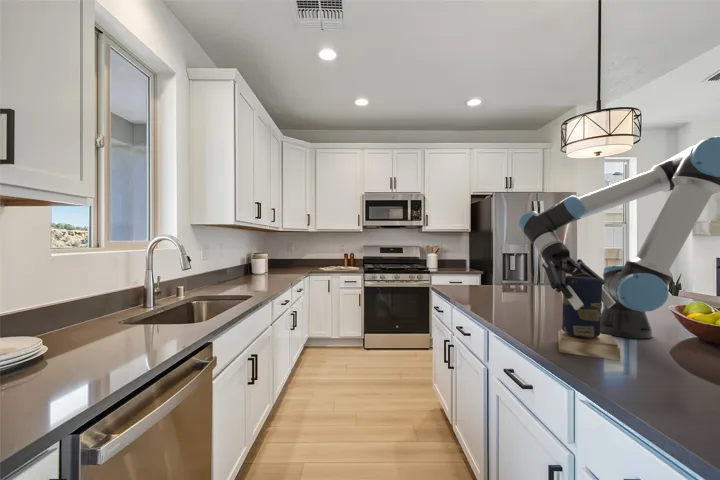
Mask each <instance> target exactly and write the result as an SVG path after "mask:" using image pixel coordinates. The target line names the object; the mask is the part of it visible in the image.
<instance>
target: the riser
mask: <svg viewBox="0 0 720 480" xmlns="http://www.w3.org/2000/svg"><path fill="white" fill-rule="evenodd" d="M557 333H558V334H557V340H558V341H557V342H558V352H559V353H564V354H570V355H577V356H578V355H579V356H584V357H592V358H597V359H606V360H611V361H612V360H613V361H618V362H619V361H621V347H620V346H619V344H618V342H617V341H616V339H615V337H613V335H610V334H606V333H600V335H599V336H598V337H592V338H589V337H580V336H575V335H571V334H568V333H566V332H564V331H563V330H562V328H561V329H560V330H558V332H557Z"/></svg>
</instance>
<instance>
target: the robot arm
mask: <svg viewBox="0 0 720 480" xmlns="http://www.w3.org/2000/svg"><path fill="white" fill-rule="evenodd" d="M658 192H663V193H667V192H670V194H669V196H668V198H667V200H666V201H665V204H664V205H663V207H662V209H661V211H660V213H659V214H658V216H657V218H656V220H655V222H654V223H653V224H652V226H651V229H650V231H649V232H648V233H647V236H646V237H645V240H644V242H643V243H642V245H641V246H640V249H639V251H638V253H636V256H635V257H634V258H631V259H627V260H626V262H625V264H624V265H619V264H617V265H607V266H605V267H604V268H603V274H602V277H603V278H602V277H601V276H600V275H598V273H596V272H595V271H593V270H592V269H591V268H590V267H589V266H587V265H586V264H585V262H584V261H583V260H582V259H580V258H578V259H577V260H574V259H573V258H572V257H571V256H570V255H571V251H570V250H569V249H568V248H567V246H566V245H565V244H564V243H563V241H562V240H561V239H560V237H558V235H557V233H555V232H556V231H558V230H560V229H561V228H563V227H565V226H567V225H569V224H571V223H574V222H576V221H579V220H581V219H583V218H587V217H590V216H592V215H595V214H598V213H601V212H604V211H607V210H609V209H612V208H615V207H618V206H621V205H624V204H627V203H630V202H632V201H636V200H638V199H641V198H644V197H647V196H649V195H652V194H656V193H658ZM719 192H720V135H717V136H711V137H708V138H704V139H701V140H699V141H698V142H696V143H695V144H694V145H691V146H689V147H688V148H686V149H684V150H682V151H680V152H678V153H677V154H675V155H673V156H672V157H670V158H668V159H667V160H665V161H662V162H659V163H658V164H654V165H653V166H652V167H651V169H650V170H647V171H646V172H643V173H639V174H637V175H635V176H631V177H629V178H626V179H624V180H620V181H619V182H618V181H617V182H616V183H613V184H610V185H608V186H606V187H603V188H600V189H597V190H594V191H593V192H589V193H587V194H584V195H581V196H579V197H578V196H576V195H575V194H573V195H570V196H568V197H566V198H564V199H562V200H561V201H559V202H558V203H556V204H554V205H552V206H551V207H549V208H548V209H546V210H545V211H542V212H540V213H539V212H537V211H536V210H531V211H528V212H526V213H524V214H523V215H522V216H521V217H520V218H519V220H518V225H519V228H520V229H521V230H522V232H523V233H524V235H525V236H526V237H527V239H528V240H529V241H530V243H531V244H532V245H533V247H534V248H535V249H536V251H537V252H538V253H539V255H540V256H541V258H542V260H544V262H542V264H541V265H542V268H543V269H544V271H545V272H546V275H547V278H548V281H549V284H550V287H551V289H552V290H555V292H557V293H562V294H563V295H564V296H565V297H566V298H567V299H568V300H569V302H570V303H571V305H572V306H573V307H574V309H575V310H578V309H579V308H581V307H582V306H583V305H584V304H583V303H582V301H581V300H580V299H579V297H578V296H577V295H576V293H575V292H574V291H573V289H572V288H571V287H570V286H567V287H566V276H567V275H566V274H568V275H570V276H573V275H576V274H581V273H584V274H588V275H590V276H592V277H594V278H599V279H600V280H601V281H602V309H601V327H600V333H602V334H606V335H612V336H614V337H620V338H621V337H622V338H629V339H640V340H641V339H650V338H652V337H653V330H652V326H651V323H650V321H649V318H648V315H647V313H648V312H653V311H655V310H657V309H659V308H661V307H663V306H664V305H665V303H666V302H667V300H668V298H669V288H668V286H669V284H670V283H671V281H672V279H673V274H672V272H671V268H672V266H673V264H674V263H675V260H676V259H677V258H678V255H679V254H680V251H681V250H682V248H683V247H684V245H685V243H686V242H687V240H688V238H689V236H690V235H691V233H692V230H693V229H694V227H695V225H696V223H698V220H699V218H700V217H701V215H702V213H703V212H704V209H705V208H706V207H707V204H708V202H709V201H710V200H711V197H712V195H714V194H717V193H719ZM578 276H585V277H589V276H586V275H578ZM563 295H562V296H563ZM646 312H647V313H646Z"/></svg>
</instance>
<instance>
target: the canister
mask: <svg viewBox="0 0 720 480" xmlns="http://www.w3.org/2000/svg"><path fill="white" fill-rule="evenodd" d="M578 275H586V276H589V277H585V276H578ZM567 286H570V287H571V288H572V289H573V291H574V292H575V293H576V295H577V296H578V297H579V299H580V300H581V301H582V303H583V304H584V305H583V306H582V307H581V308H579V309H578V310H575V309H574V307H573V306H572V305H571V303H570V302H569V300H568V299H567V298H566V297H565V296H564V295H562V320H561V321H562V322H561V329H562V330H563V331H564V332H566V333H568V334H571V335H575V336H580V337H589V338H592V337H598V336H599V335H600V334H601V332H600V327H601V313H602V309H603V302H602V286H603V285H602V281H601V280H600V279H599V278H594V277H592V276H590V275H588V274H584V273H581V274H576V275H573V276H572V275H566V287H567Z"/></svg>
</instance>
